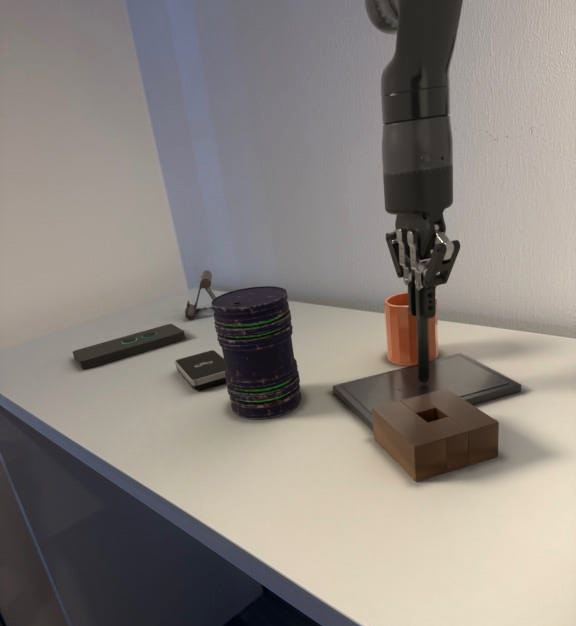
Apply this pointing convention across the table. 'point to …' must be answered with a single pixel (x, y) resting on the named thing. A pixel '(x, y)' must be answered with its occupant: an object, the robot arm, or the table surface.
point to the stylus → (422, 348)
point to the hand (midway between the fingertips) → (421, 315)
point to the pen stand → (435, 433)
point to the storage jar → (258, 351)
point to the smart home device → (128, 345)
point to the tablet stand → (205, 284)
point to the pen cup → (406, 332)
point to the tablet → (425, 385)
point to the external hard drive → (202, 369)
